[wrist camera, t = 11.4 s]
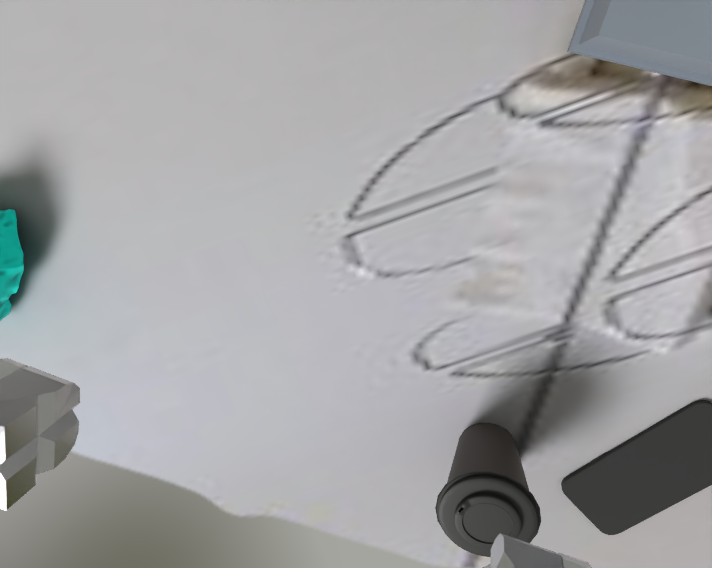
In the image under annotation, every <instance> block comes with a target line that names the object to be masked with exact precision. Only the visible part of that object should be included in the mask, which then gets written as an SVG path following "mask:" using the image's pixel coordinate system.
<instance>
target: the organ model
mask: <svg viewBox="0 0 712 568" xmlns="http://www.w3.org/2000/svg"><path fill="white" fill-rule="evenodd" d="M23 271H24V265H23V251H22V249H21V245H20V242H19V238H18V232H17V218H16V213H15V210H11V209H7V210H6V211H4V210H0V321H1V320H2V319H3V318H4V317H6V316H7V315H8V314H9V313H10V311H11V303H10V301H9V300H8V299H9V298H10V296H11V294H14V293H16V292H17V290H18V288H19V283H20V279H21V276H22V274H23Z"/></svg>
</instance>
